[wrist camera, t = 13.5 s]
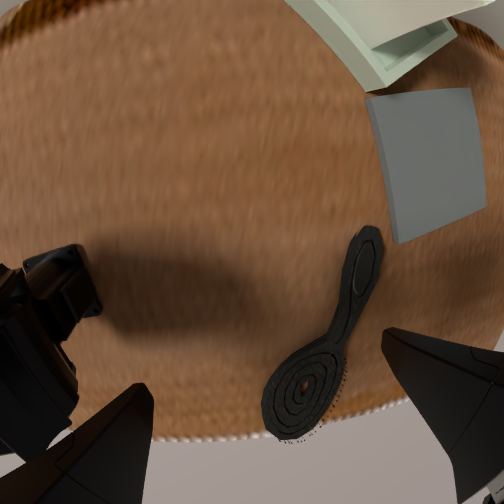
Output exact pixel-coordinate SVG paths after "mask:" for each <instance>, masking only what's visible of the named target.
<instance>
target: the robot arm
mask: <svg viewBox="0 0 504 504" xmlns="http://www.w3.org/2000/svg"><path fill="white" fill-rule="evenodd" d="M70 249H71V250H72V251H73V253H71V251H70ZM27 264H28V265H29V266H28V265H27ZM23 267H24V270H25V272H26V275H25V273H24V271H23V269H22V267H21V268H18V269H14V270H10V268H7V267H6V266H5V265H3V264H2V263H1V264H0V456H1V455H7V454H13V453H16V454H17V455H18V456H19V457H20V458H21V459H23V460H24V461H25V462H26V463H25V464H23V465H22V466H20V467H18V468H16V469H15V470H13V471H11V472H10V473H8V474H6V475H5V476H3V477H1V478H0V504H142V497H143V489H144V481H145V475H146V468H147V462H148V456H149V449H150V443H151V438H152V431H153V412H154V399H153V396H152V394H151V393H150V391H149V390H148V388H147V387H146V385H145V384H144V383H134V384H133V385H131V386H130V387H129V388H128V389H126V390H125V391H124V392H123V393H121V394H120V395H119V396H118V397H116V398H115V399H114V400H113V401H111V402H110V403H109V404H108V405H106V406H105V407H104V408H103V409H101V410H100V411H99V412H98V413H96V414H95V415H94V416H92V417H91V418H90V419H89V420H87V421H86V422H85V423H83V424H82V425H81V426H80V427H78V428H77V429H76V430H74V431H73V432H71V433H70V434H69V435H67V436H66V437H65V438H63V439H62V440H61V441H59V442H58V443H57V444H55V445H54V446H52V447H51V448H49V449H48V450H47V448H48V446H49V444H50V443H51V442H52V441H53V439H54V438H55V437H56V436H57V435H58V434H59V433H60V432H61V431H63V430H64V429H66V428H67V427H69V426H70V425H71V424H72V421H71V420H70V419H69V417H70V415H71V414H72V412H73V411H74V409H75V408H76V405H77V403H78V400H79V395H78V394H77V392H78V381H77V379H76V367H75V366H74V364H73V363H72V362H70V360H69V359H68V357H67V355H66V354H65V352H64V351H63V349H62V347H61V346H60V345H61V344H62V342H63V341H66V340H67V339H68V338H69V336H70V334H71V333H72V331H73V329H74V328H75V326H76V325H77V323H79V322H80V321H81V319H82V318H87V317H92V316H98V315H100V314H101V312H102V310H103V309H102V306H101V304H100V302H99V300H98V298H97V293H96V291H95V289H94V287H93V284H92V282H91V280H90V277H89V275H88V273H87V270H86V268H85V267H84V265H83V262H82V260H81V257H80V255H79V252H78V249H77V247H76V246H75V245H73V244H71V245H67V246H64V247H61V248H58V249H55V250H52V251H49V252H46V253H43V254H40V255H37V256H34V257H31V258H28V259H26V260H25V261H23ZM95 308H97V309H98V311H97V310H96V309H95ZM381 349H382V352H383V354H384V356H385V358H386V360H387V362H388V364H389V366H390V368H391V369H392V371H393V373H394V375H395V377H396V379H397V380H398V382H399V383H400V385H401V386H402V388H403V389H404V391H405V392H406V393H407V395H408V396H409V398H410V399H411V401H412V402H413V404H414V405H415V406H416V408H417V409H418V411H419V412H420V414H421V415H422V417H423V418H424V419H425V421H426V423H427V424H428V426H429V427H430V429H431V430H432V432H433V433H434V435H435V436H436V438H437V439H438V441H439V442H440V444H441V445H442V447H443V449H444V450H445V451H446V453H447V454H448V456H449V458H450V460H451V463H452V466H453V471H454V478H455V486H456V493H457V503H458V504H462V503H463V502H465V501H466V500H468V499H469V498H471V497H472V496H473V495H475V494H476V493H478V492H479V491H480V490H482V489H483V488H485V487H486V486H487V487H488V489H489V491H490V494H489V495H487V496H486V497H485V498H484V501H483V504H504V352H497V351H491V350H486V349H481V348H476V347H472V346H470V347H469V346H466V345H462V344H458V343H454V342H450V341H446V340H442V339H438V338H433V337H430V336H426V335H422V334H418V333H414V332H410V331H406V330H402V329H398V328H395V327H391V328H388V329H385V330H384V331H383V333H382V343H381Z"/></svg>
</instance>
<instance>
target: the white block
mask: <svg viewBox="0 0 504 504" xmlns="http://www.w3.org/2000/svg"><path fill="white" fill-rule="evenodd" d="M327 1H328V2H329V3H330V4H331V5H332V6H333V7H334V8H335V9H336V10H337V11H338V12H339V13H340V14H341V16H342V17H343V18H344V19H345V20H346V21H347V22H348V23H349V24H350V26H351V27H352V28H353V29H354V30H355V31H356V33H357V34H358V35H359V36H360V37H361V39H362V40H363V41H364V42H365V43H366V45H367V46H368V47H369V48H370V49H373V48H375V47H377V46H379V45H381V44H383V43H385V42H387V41H390V40H392V39H394V38H396V37H399V36H401V35H403V34H405V33H408V32H410V31H413V30H415V29H418V28H420V27H423V26H425V25H428V24H430V23H433V22H436V21H438V20H441V19H444V18H447V17H450V16H453V15H455V14H459V13H462V12H465V11H468V10H471V9H475V8H478V7H482V6H486V5H487V4H489V3H491V2H493V1H495V0H327Z"/></svg>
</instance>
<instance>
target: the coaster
mask: <svg viewBox="0 0 504 504" xmlns="http://www.w3.org/2000/svg"><path fill="white" fill-rule="evenodd" d="M365 103H366V106H367V110H368V113H369V117H370V120H371V124H372V128H373V132H374V136H375V140H376V144H377V149H378V153H379V158H380V162H381V167H382V172H383V177H384V182H385V188H386V193H387V199H388V206H389V212H390V219H391V226H392V234H393V241H394V242H396V243H397V244H399V245H400V244H402V243H405V242H407V241H410V240H412V239H414V238H417V237H419V236H422V235H424V234H426V233H429V232H431V231H433V230H436V229H438V228H440V227H443V226H445V225H447V224H450V223H452V222H454V221H456V220H459V219H461V218H463V217H465V216H468V215H470V214H472V213H474V212H476V211H479V210H481V209H483V208H485V207H486V191H485V175H484V164H483V154H482V146H481V139H480V132H479V126H478V121H477V115H476V110H475V106H474V101H473V97H472V92H471V88H470V87H466V88H447V89H434V90H423V91H414V92H405V93H398V94H390V95H384V96H377V97H371V98H366V99H365Z"/></svg>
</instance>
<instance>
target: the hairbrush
mask: <svg viewBox="0 0 504 504" xmlns="http://www.w3.org/2000/svg"><path fill="white" fill-rule="evenodd" d="M355 236H356V234H355V235H354V237H353V238H352V240H351V241H350V244H349V247H348V251H347V255H346V259H345V262H344V266H343V269H342V278H341V287H340V295H339V302H338V306H337V308H336V311H335V314H334V317H333V319H332V322H331V325H330V327H329V330H328V333H327V335H325V336H323V337H321V338H320V339H318V340H316V341H314V342H312V343H311V344H309V345H307V346H305V347H303V348H301V349H299V350H298V351H299V352H298V351H296V352H298V353H296V352H294V353H296V354H294V353H293V354H294V355H293V354H291V355H293V356H291V355H290V356H291V357H290V356H289V357H290V358H289V357H288V358H287V359H286V360H285V361H284V362H282V363H281V365H280V366H279V367H278V368H277V370H276V371H275V372H274V373H273V375H272V376H271V377H270V379H269V380H268V382H267V385H266V387H265V388H264V391H263V396H262V401H261V408H262V417H263V421H264V424H265V428H266V429H267V430H268V431H269V432H270V433H272V434H273V435H274V436H275V437H277V438H278V439H280V440H289V439H298V438H299V437H301V436H302V435H304V434H306V433H307V432H309V431H310V430H312V429H313V428H314V427H315V426H316V424H317V423H318V422H319V420H320V419H321V417H322V416H323V415H324V413H325V412H326V410H327V409H328V408H329V406H330V404H331V401H332V399H333V398H334V395H336V394H335V393H336V391H337V389H338V386H340V385H339V384H341V383H340V382H341V378H342V374H343V369H344V366H345V364H344V362H345V361H344V360H346V359H345V358H344V355H343V349H344V347H345V344H346V341H347V339H348V337H349V336H350V334H351V332H352V330H353V328H354V326H355V324H356V322H357V320H358V318H359V316H360V314H361V312H362V310H363V308H364V307H365V305H366V303H367V301H368V299H369V297H370V295H371V293H372V291H373V289H374V287H375V285H376V283H377V281H378V278H379V273H380V267H381V261H382V255H383V245H382V242H381V238H380V234H379V230H378V229H377V228H375V227H372V226H364V227H363V228H362V229H361V231H360V232H359V233H358V235H357V236H356V238H355ZM354 238H355V239H354ZM353 240H354V241H353ZM366 240H367V241H366ZM369 240H370V241H369ZM373 247H374V248H373ZM300 350H301V351H300ZM331 354H334V355H335V358H336V366H335V358H334V357H333V355H331ZM322 363H323V364H324V365H325V366H326V367H327V369H326V371H325V368H324V366H323V364H322ZM345 363H346V364H347V362H345ZM345 367H346V366H345ZM346 368H347V367H346ZM335 371H336V372H335ZM345 371H346V370H345ZM346 373H347V371H346ZM312 374H314V375H315V377H316V383H315V378H314V376H313V375H312ZM325 375H326V377H325ZM343 375H344V374H343ZM344 376H345V377H346V375H344ZM324 379H325V380H324ZM307 381H308V386H307V387H308V388H306V390H304V393H303V392H301V387H302V385H303V384H304V383H305V382H307ZM343 381H344V382H345V379H344V380H343ZM341 385H342V384H341ZM342 386H343V385H342ZM340 387H341V386H340ZM343 387H344V386H343ZM285 389H286V392H285ZM342 389H343V388H342ZM340 391H342V390H340ZM301 393H302V394H301ZM284 394H285V395H284ZM293 394H294V399H293V397H292V396H293ZM336 396H337V395H336ZM337 397H338V396H337ZM339 397H340V395H339ZM339 397H338V398H339ZM273 399H274V402H273ZM334 399H335V398H334ZM336 401H337V400H336ZM284 402H285V403H284ZM337 402H338V401H337ZM273 403H274V404H273ZM285 405H286V407H287V408H286V407H285ZM331 405H333V404H331ZM273 406H274V407H275V409H276V412H277V414H276V413H275V411H274V409H273ZM333 407H335V406H334V405H333ZM330 411H331V410H330ZM277 415H278V416H277ZM278 417H279V418H278ZM327 417H328V416H327ZM322 420H323V419H322ZM323 421H324V420H323ZM319 425H320V424H319ZM321 427H322V426H320V428H321ZM315 432H316V431H315ZM280 440H279V441H280ZM304 441H305V440H304ZM280 442H281V441H280ZM301 442H302V441H301ZM285 443H286V442H285ZM291 443H292V442H291Z"/></svg>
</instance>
